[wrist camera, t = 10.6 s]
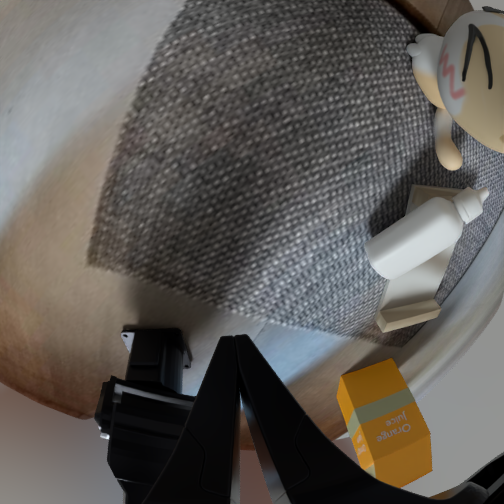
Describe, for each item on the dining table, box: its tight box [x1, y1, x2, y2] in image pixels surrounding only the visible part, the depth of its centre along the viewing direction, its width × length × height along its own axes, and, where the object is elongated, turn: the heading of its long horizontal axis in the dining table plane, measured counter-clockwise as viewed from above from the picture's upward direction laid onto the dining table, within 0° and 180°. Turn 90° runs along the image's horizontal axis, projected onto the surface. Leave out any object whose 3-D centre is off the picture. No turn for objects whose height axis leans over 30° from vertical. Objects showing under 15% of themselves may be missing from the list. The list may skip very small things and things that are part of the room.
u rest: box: [374, 184, 464, 333], centre depth 24 cm, size 16×9×2 cm, turn 0°
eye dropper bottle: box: [364, 187, 489, 280], centre depth 19 cm, size 4×6×12 cm
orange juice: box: [337, 358, 432, 488], centre depth 29 cm, size 8×9×20 cm
